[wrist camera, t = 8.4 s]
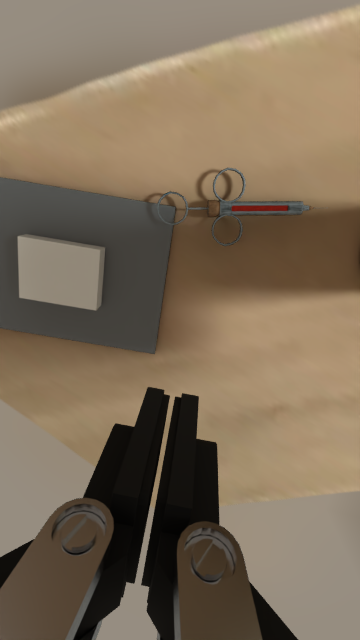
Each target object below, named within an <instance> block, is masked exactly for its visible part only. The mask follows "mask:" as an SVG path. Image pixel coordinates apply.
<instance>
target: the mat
mask: <svg viewBox="0 0 360 640" xmlns="http://www.w3.org/2000/svg"><path fill="white" fill-rule="evenodd" d="M175 210H176V207H173V206H167V205H161V204H159V213H160V215H161V217H162V218H163V219H164V220H165V221H167V222H169V223H174V217H175ZM172 231H173V225H169V224H166V223H164V222H163V221H162V220H161V219H160V217H159V215H158V213H157V204H155V203H149V202H143V201H137V200H132V199H126V198H120V197H114V196H108V195H102V194H96V193H90V192H84V191H78V190H72V189H66V188H60V187H54V186H49V185H43V184H37V183H31V182H25V181H19V180H13V179H7V178H1V177H0V328H3V329H9V330H14V331H20V332H26V333H32V334H38V335H44V336H50V337H56V338H62V339H68V340H74V341H80V342H86V343H92V344H98V345H104V346H110V347H116V348H122V349H127V350H133V351H139V352H145V353H151V354H155V349H156V342H157V335H158V328H159V321H160V314H161V307H162V300H163V293H164V286H165V279H166V272H167V265H168V258H169V252H170V245H171V238H172ZM25 234H29V235H35V236H41V237H47V238H53V239H59V240H64V241H70V242H76V243H82V244H88V245H94V246H100V247H105V260H104V274H103V288H102V302H101V306H100V307H99V308H98V309H97V310H90V309H84V308H78V307H72V306H66V305H60V304H54V303H48V302H42V301H36V300H30V299H24V298H19V269H18V236H20V235H25Z"/></svg>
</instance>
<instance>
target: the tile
mask: <svg viewBox="0 0 360 640" xmlns="http://www.w3.org/2000/svg"><path fill="white" fill-rule="evenodd" d="M104 260H105V247H100V246H94V245H88V244H82V243H76V242H70V241H64V240H59V239H53V238H47V237H41V236H35V235H29V234H25V235H20V236H18V269H19V298H24V299H30V300H36V301H42V302H48V303H54V304H60V305H66V306H72V307H78V308H84V309H90V310H97V309H98V308H99V307H100V306H101V302H102V288H103V274H104Z"/></svg>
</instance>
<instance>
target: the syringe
mask: <svg viewBox="0 0 360 640" xmlns="http://www.w3.org/2000/svg"><path fill="white" fill-rule="evenodd" d="M226 170H232V171H235V172H237V173H238V174H240V176H241V178H242V180H243V188H242V192H241V194H240V195H239V197H238V198H236V199H234V200H233V201H225V200H222V199H221V198H220V197H219V196H218V195H217V193H216V191H215V182H216V179H217V178H218V176H219V175H220V174H221V173H222V172H224V171H226ZM244 190H245V178H244V176H243V174H242V173H241V172H239V171H238V170H236V169H233V168H226V169H224V170H222V171H220V172H219V174H218V175H217V176H216V177H215V179H214V182H213V191H214V194H215V196H216V197H217V198H218V199H219V200H220V202H219V201H216V200H209V201H208V208H188V204H187V201H186V199H185V198H184V197H183V196H182V195H180V194H179V193H176V192H168V193H166V194H164V195H163V196H162V197H161V198H160V199H159V201H158V204H157V213H158V215H159V217H160V219H161V220H162V221H163V222H164V223H166V224H169V225H175V224H179V223H180V222H182V221H183V220H184V219H185V218H186V216H187V212H188V210H191V209H208V216H209V217H215V216H218V215H219V217H218V218H217V219H216V220H215V221H214V223H213V225H212V235H213V237H214V239H215V240H216V241H217V242H218V243H219V244H221V245H223V246H228V245H232V244H234V243H236V242H237V241H238V240H239V239H240V237H241V235H242V231H243V229H242V223H241V221H240V219H239V218H237V217H236V216H234V215H300V214H302V212H303V211H306V210H310V209H313V207H311V206H310V207H309V206H306V205H303V202H302V201H269V202H235V201H236V200H238V199H239V198H241V196H242V195H243V193H244ZM171 193H172V194H177V195H179V196H181V197H182V198H183V199H184V201H185V203H186V214H185V216H184V218H183V219H182V220H180V221H179V222H177V223H169V222H167V221H165V220H164V219H163V218H162V217H161V215H160V213H159V204H160V202H161V200H162V199H163V198H164V197H165V196H166V195H168V194H171ZM226 215H228V216H233V217H234V218H236V219H237V220H238V222H239V224H240V233H239V236H238V238H237V239H236V240H235V241H233V242H232V243H228V244H224V243H221V242H219V241H218V240H217V239H216V238H215V236H214V231H213V230H214V225H215V223H216V222H217V221H218V220H219V219H220V218H221V217H223V216H226Z"/></svg>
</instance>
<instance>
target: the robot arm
mask: <svg viewBox="0 0 360 640" xmlns="http://www.w3.org/2000/svg"><path fill="white" fill-rule="evenodd" d="M169 398H170V395H164V390H162V389H157V388H151V387H148V388H147V391H146V394H145V397H144V400H143V403H142V406H141V409H140V412H139V415H138V418H137V421H136V424H135V427H132V426H127V425H121V424H115V425H114V427H113V429H112V431H111V433H110V436H109V438H108V440H107V443H106V445H105V447H104V450H103V452H102V454H101V457H100V459H99V461H98V464H97V466H96V468H95V471H94V473H93V475H92V478H91V480H90V482H89V485H88V487H87V489H86V492H85V494H84V497H83V498H78V499H74V500H71V501H69V502H66V503H65V504H63V505H62V506H60V507H59V508H57V509H56V510H55V511H54V513H53V514H52V515H51V516H50V517H49V519H48V520H47V522H46V523H45V525H44V526H43V527H42V529H41V530H40V532H39V533H38V535H37V536H36V538H35V539H33V540H31V541H30V542H28V543H26V544H24V545H22V546H20V547H18V548H17V549H15V550H13V551H11V552H9V553H7V554H5V555H4V556H2V557H0V640H96V638H97V635H98V633H99V630H100V627H101V624H102V620H103V618H105V617H106V616H107V615H108V614H110V613H111V612H112V611H113V610H115V609H116V608H117V607H118V606H119V605H120V601H121V597H123V595H124V590H125V586H126V582H129V583H135V578H136V573H137V568H138V563H139V558H140V553H141V547H142V543H143V537H144V532H145V528H146V522H147V517H148V512H149V507H150V502H151V497H152V492H153V487H154V482H155V477H156V472H157V467H158V461H159V456H160V450H161V444H162V438H163V433H164V427H165V421H166V415H167V410H168V404H169ZM198 401H199V396H194V395H189V394H183V393H182V397H181V398H180V397H175V400H174V406H173V411H172V417H171V422H170V428H169V433H168V439H167V444H166V450H165V455H164V461H163V466H162V472H161V478H160V483H159V489H158V494H157V500H156V505H155V511H154V517H153V522H152V528H151V533H150V539H149V545H148V550H147V556H146V562H145V567H144V573H143V578H142V584H141V585H143V586H148V587H149V593H148V600H147V603H148V606H147V613H148V615H149V616H150V618H151V620H152V622H153V624H154V625H155V627H156V629H157V631H158V633H157V640H298V639H297V638H296V637H295V636H294V634H293V633H292V632H291V631H290V629H289V628H288V627H287V626H286V625H285V624H284V622H283V621H282V620H281V619H280V618H279V616H278V615H277V614H276V613H275V612H274V610H273V609H272V608H271V607H270V606H269V604H268V603H267V602H266V601H265V600H264V599H263V597H262V596H261V595H260V594H259V592H258V591H257V590H256V589H255V588H254V586H253V585H252V584H251V583H250V582H249V579H248V574H247V570H246V566H245V561H244V557H243V554H242V551H241V548H240V546H239V544H238V542H237V541H236V540H235V538H234V536H233V535H232V534H231V533H230V532H229V531H227V530H226V529H225V528H224V527H222V526H220V525H219V495H218V460H217V444H216V442H211V441H205V440H200V439H196V435H197V418H198Z"/></svg>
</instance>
